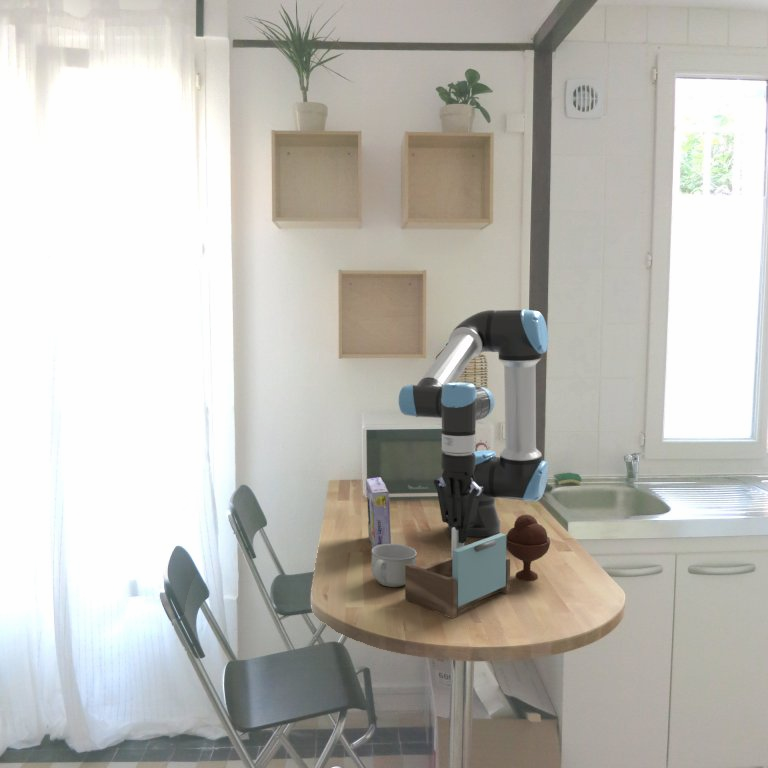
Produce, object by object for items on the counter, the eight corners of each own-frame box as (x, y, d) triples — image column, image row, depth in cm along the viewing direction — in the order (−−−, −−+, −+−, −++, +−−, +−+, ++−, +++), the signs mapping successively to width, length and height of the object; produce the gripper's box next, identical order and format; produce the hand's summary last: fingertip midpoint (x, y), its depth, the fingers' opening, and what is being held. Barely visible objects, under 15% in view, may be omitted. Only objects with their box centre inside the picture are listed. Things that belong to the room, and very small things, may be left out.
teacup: (390, 571, 179) (390, 539, 178) (425, 581, 172) (425, 548, 171) (353, 587, 168) (353, 554, 167) (389, 599, 161) (389, 564, 161)
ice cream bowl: (495, 577, 174) (495, 516, 173) (521, 565, 182) (522, 507, 181) (532, 588, 167) (533, 525, 165) (558, 576, 175) (559, 516, 173)
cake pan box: (366, 536, 207) (365, 476, 205) (383, 535, 208) (383, 475, 206) (373, 558, 188) (372, 492, 186) (392, 557, 189) (391, 491, 187)
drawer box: (462, 576, 175) (462, 544, 174) (509, 592, 165) (510, 558, 164) (405, 599, 161) (405, 565, 160) (453, 618, 151) (453, 581, 150)
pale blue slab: (500, 584, 165) (500, 532, 163) (510, 587, 163) (510, 535, 161) (452, 605, 153) (452, 549, 152) (462, 608, 151) (462, 552, 150)
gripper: (425, 450, 162) (425, 552, 164) (470, 459, 152) (469, 566, 155) (447, 446, 167) (447, 545, 169) (492, 454, 157) (491, 558, 160)
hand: (457, 555), depth 162 cm, fingers closed
